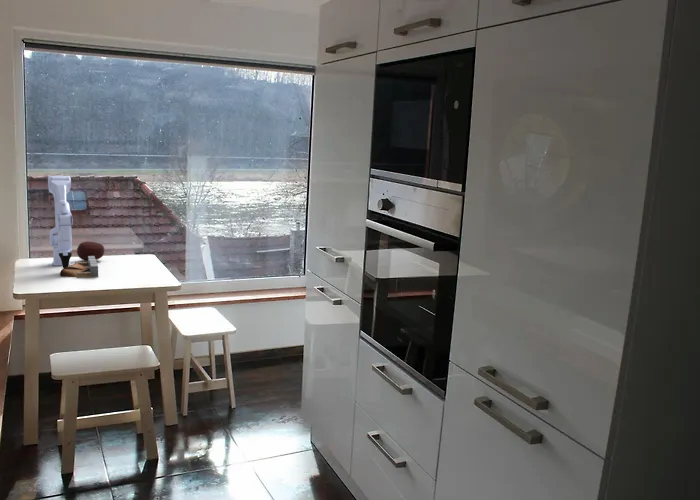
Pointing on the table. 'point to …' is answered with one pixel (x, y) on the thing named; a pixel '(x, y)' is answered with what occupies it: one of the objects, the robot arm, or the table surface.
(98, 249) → the potato
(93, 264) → the dock
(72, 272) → the sunglasses case
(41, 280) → the table surface
